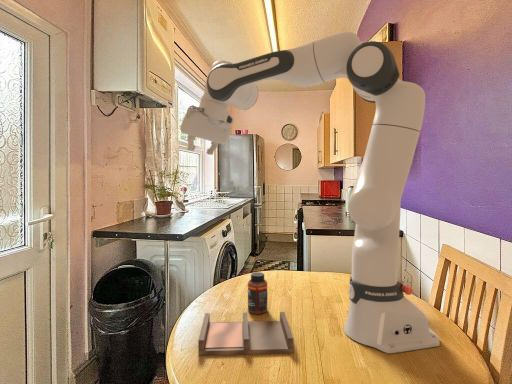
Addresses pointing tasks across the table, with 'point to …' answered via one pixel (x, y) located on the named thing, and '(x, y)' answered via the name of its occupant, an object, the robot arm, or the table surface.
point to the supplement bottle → (257, 293)
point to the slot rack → (245, 337)
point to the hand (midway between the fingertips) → (200, 152)
